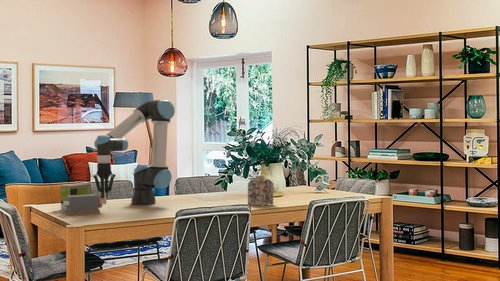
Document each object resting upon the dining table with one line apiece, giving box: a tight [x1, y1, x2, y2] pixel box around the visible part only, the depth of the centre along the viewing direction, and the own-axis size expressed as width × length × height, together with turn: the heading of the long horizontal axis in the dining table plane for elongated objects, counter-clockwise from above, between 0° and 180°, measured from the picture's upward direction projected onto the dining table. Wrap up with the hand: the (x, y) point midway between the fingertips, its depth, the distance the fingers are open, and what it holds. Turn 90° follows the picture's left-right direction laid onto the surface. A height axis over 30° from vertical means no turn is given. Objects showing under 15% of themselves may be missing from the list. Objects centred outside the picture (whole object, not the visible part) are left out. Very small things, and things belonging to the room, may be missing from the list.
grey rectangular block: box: [63, 194, 104, 209], centre depth 377 cm, size 21×7×7 cm, turn 120°
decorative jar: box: [247, 175, 274, 206], centre depth 417 cm, size 12×12×18 cm
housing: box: [63, 193, 101, 217], centre depth 377 cm, size 17×12×10 cm
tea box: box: [60, 182, 92, 211], centre depth 395 cm, size 15×10×15 cm, turn 141°
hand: (104, 203), depth 383 cm, fingers closed
